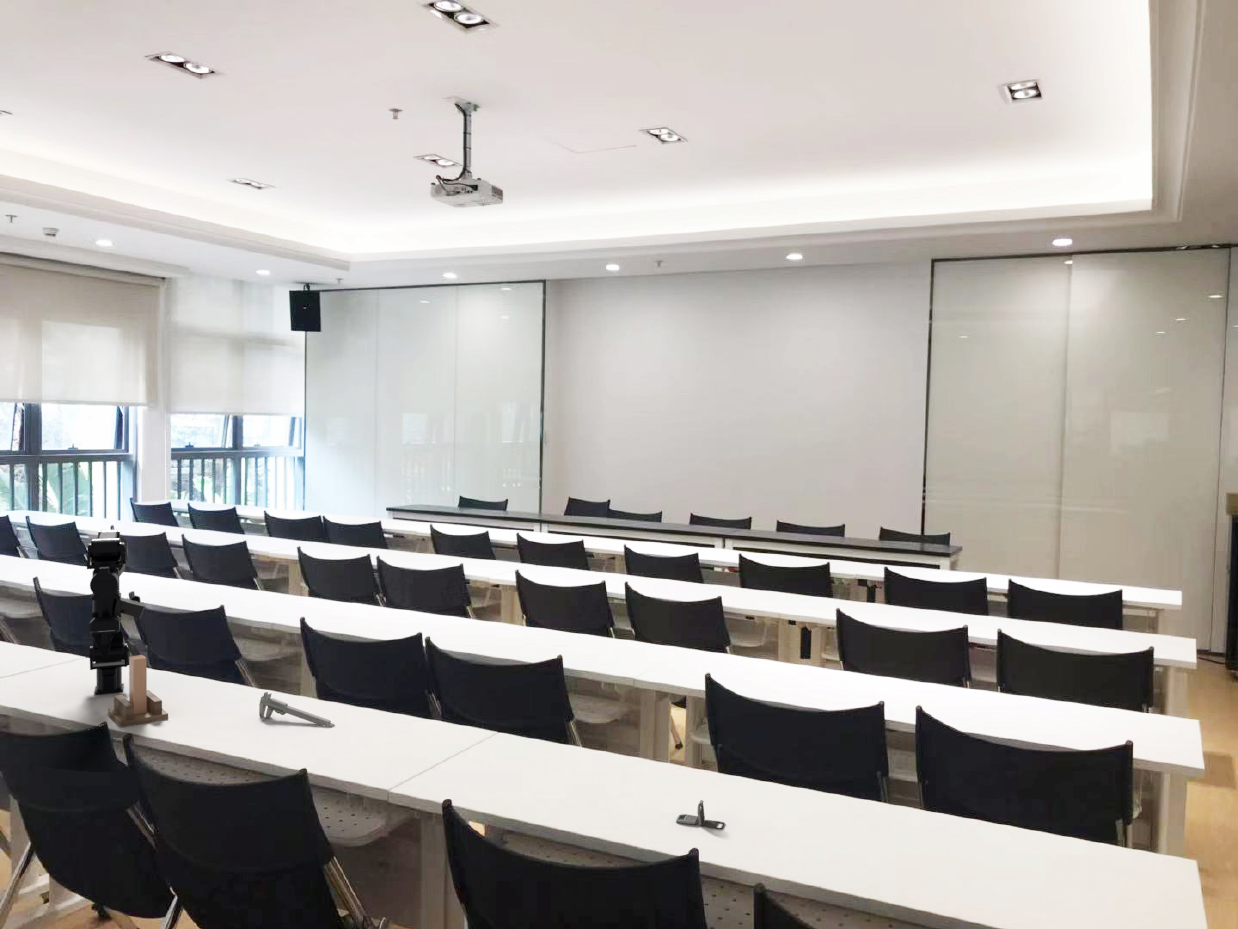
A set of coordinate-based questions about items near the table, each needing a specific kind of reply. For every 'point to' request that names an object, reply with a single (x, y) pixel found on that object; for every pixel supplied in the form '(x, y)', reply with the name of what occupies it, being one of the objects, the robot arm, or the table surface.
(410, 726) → the table surface
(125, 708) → the slot rack
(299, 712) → the caliper
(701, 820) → the strap clip
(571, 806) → the table surface
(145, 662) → the clay block
